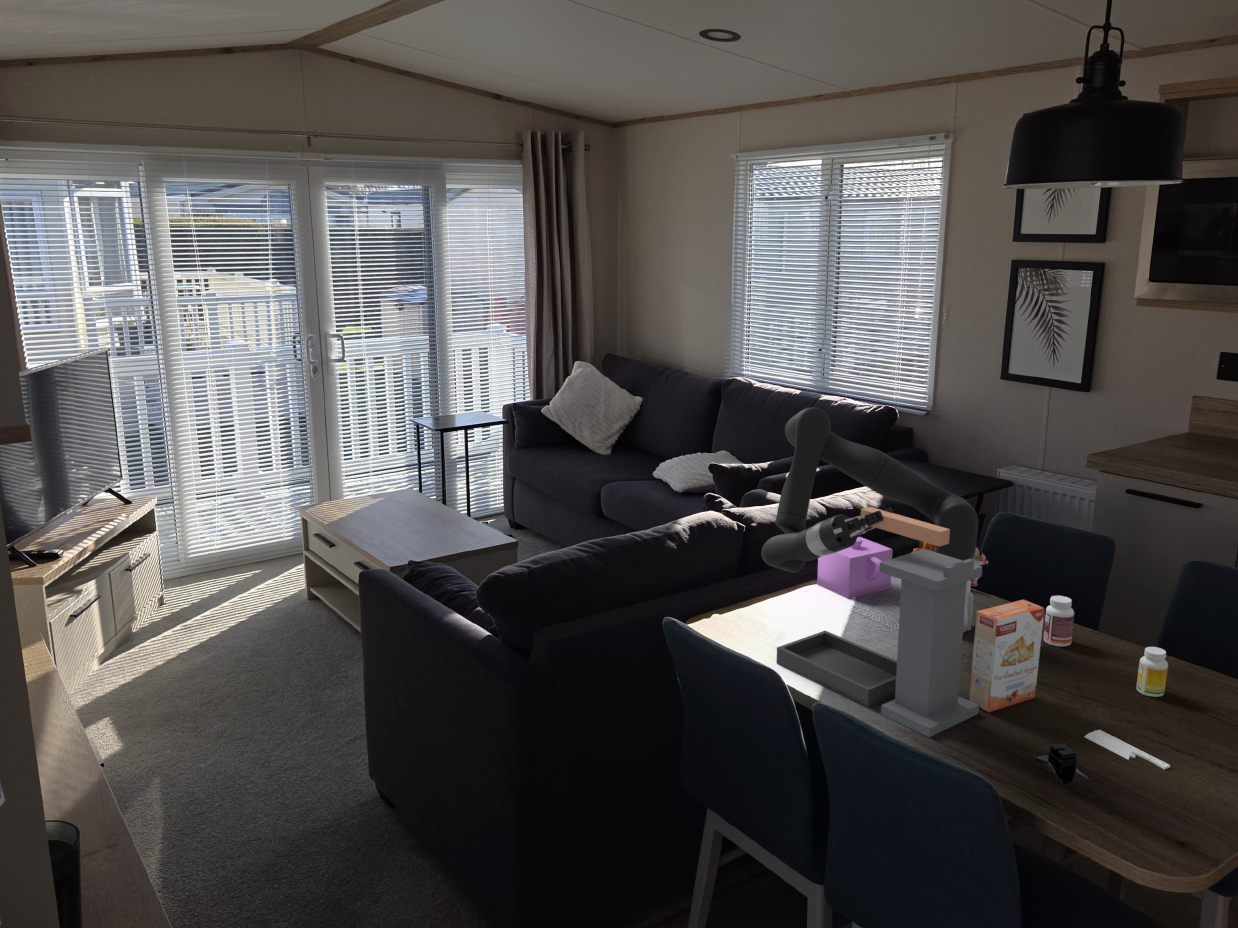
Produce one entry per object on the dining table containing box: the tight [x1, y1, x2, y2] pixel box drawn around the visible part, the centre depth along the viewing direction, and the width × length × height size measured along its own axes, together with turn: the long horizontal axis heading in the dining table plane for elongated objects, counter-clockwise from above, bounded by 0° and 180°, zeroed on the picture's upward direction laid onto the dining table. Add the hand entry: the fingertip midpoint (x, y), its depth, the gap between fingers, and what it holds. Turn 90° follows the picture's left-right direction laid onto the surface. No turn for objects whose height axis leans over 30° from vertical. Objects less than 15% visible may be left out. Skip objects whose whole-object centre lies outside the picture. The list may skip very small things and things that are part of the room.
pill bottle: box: [1043, 595, 1075, 648], centre depth 235 cm, size 6×6×11 cm
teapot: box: [816, 536, 893, 600], centre depth 274 cm, size 15×25×14 cm, turn 29°
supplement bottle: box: [1136, 646, 1169, 698], centre depth 209 cm, size 5×5×10 cm
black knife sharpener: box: [1032, 743, 1091, 785], centre depth 181 cm, size 12×7×5 cm, turn 11°
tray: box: [776, 630, 897, 708], centre depth 220 cm, size 27×16×4 cm, turn 35°
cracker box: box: [968, 599, 1046, 713], centre depth 205 cm, size 14×6×21 cm, turn 117°
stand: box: [879, 549, 983, 738], centre depth 200 cm, size 15×16×34 cm
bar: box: [860, 506, 950, 547], centre depth 201 cm, size 20×3×3 cm, turn 36°
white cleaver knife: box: [1084, 729, 1171, 770], centre depth 187 cm, size 5×15×1 cm, turn 26°
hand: (886, 513), depth 204 cm, fingers closed on bar, 3 cm apart
